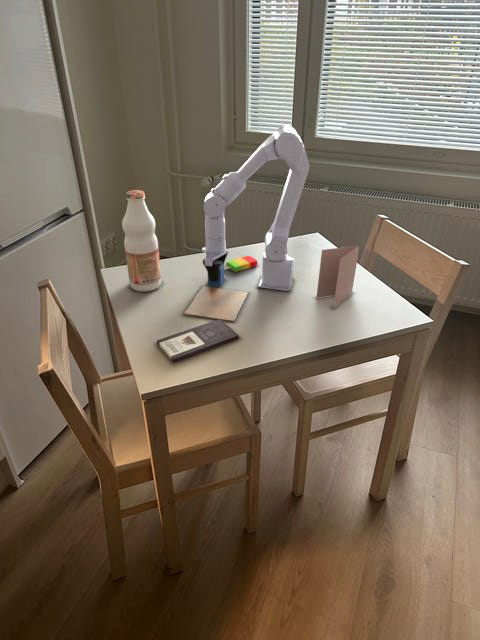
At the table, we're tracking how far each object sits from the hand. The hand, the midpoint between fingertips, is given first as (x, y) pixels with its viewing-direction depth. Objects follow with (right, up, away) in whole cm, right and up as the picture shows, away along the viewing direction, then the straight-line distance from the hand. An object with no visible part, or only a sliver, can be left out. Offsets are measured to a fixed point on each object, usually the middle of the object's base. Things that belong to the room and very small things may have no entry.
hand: (216, 277), depth 138 cm
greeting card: (+36, -7, -7) cm, 37 cm away
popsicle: (+6, +4, +9) cm, 12 cm away
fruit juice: (-21, -2, -1) cm, 21 cm away
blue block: (0, -1, +1) cm, 2 cm away
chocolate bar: (-3, -18, -25) cm, 31 cm away
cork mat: (+1, -8, -10) cm, 13 cm away
